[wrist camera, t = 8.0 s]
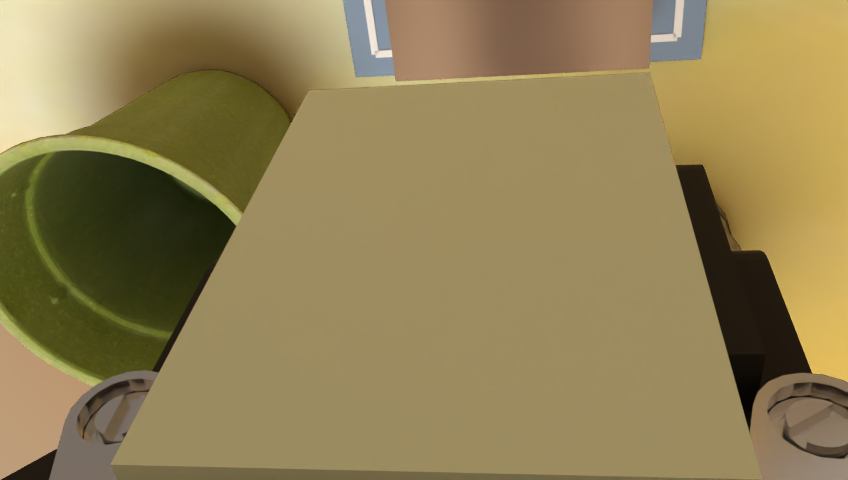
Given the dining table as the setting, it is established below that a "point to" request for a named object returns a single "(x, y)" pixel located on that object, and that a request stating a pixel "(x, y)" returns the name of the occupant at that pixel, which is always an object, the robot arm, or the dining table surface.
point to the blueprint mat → (670, 40)
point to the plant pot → (128, 219)
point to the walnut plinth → (516, 37)
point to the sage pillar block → (455, 301)
